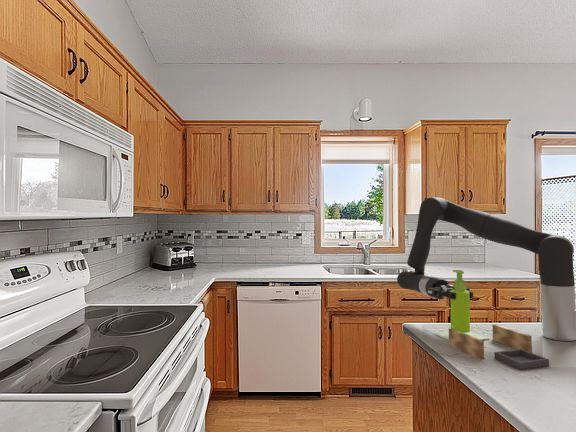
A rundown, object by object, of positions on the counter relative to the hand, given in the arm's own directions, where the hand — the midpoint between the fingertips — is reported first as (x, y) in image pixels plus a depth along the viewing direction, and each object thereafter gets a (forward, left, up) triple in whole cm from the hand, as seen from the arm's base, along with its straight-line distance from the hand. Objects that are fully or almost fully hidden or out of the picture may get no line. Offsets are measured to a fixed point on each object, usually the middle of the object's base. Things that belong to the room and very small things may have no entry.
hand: (463, 295), depth 128 cm
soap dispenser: (+1, -2, -12) cm, 12 cm away
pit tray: (-11, +20, -14) cm, 27 cm away
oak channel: (-5, +9, -14) cm, 18 cm away
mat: (+1, -2, -14) cm, 14 cm away
